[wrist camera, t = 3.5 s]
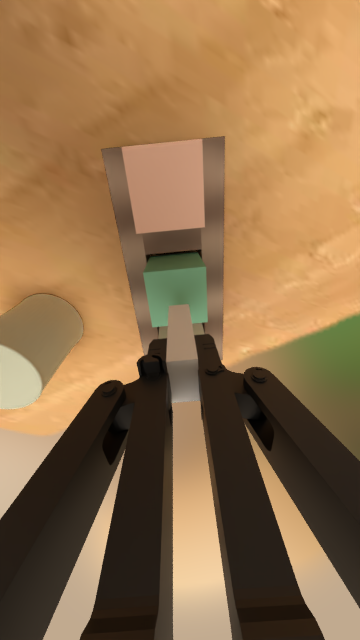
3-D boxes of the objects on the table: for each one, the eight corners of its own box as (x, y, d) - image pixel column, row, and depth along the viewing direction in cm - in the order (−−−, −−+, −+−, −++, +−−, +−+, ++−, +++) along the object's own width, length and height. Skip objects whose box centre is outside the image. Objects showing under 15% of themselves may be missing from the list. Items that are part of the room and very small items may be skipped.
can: (83, 299, 30) (34, 351, 19) (83, 352, 34) (43, 418, 23) (13, 287, 28) (-82, 334, 18) (22, 343, 33) (-50, 408, 22)
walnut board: (112, 158, 22) (101, 148, 19) (216, 147, 22) (224, 136, 19) (149, 350, 34) (146, 366, 30) (217, 344, 34) (222, 359, 30)
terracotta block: (136, 165, 20) (121, 146, 14) (192, 160, 20) (202, 138, 14) (145, 226, 23) (136, 233, 17) (195, 221, 23) (204, 227, 16)
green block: (150, 256, 24) (142, 272, 18) (197, 251, 24) (206, 266, 18) (156, 299, 27) (152, 327, 21) (199, 295, 27) (207, 322, 20)
